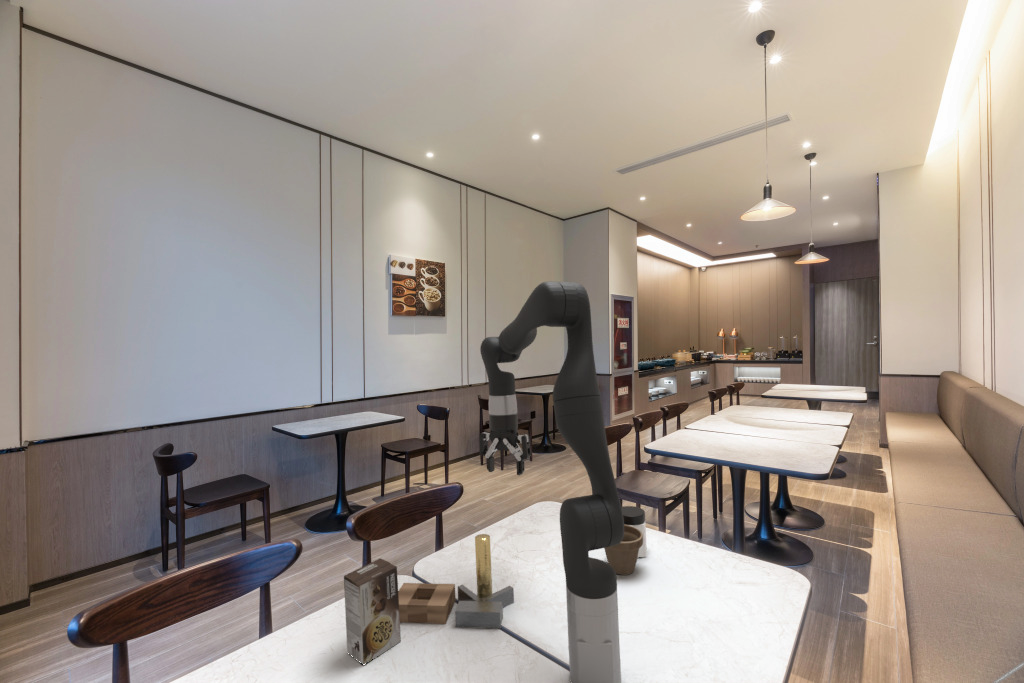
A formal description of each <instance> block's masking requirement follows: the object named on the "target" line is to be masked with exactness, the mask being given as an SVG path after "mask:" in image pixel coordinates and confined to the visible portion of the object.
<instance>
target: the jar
mask: <svg viewBox="0 0 1024 683" xmlns="http://www.w3.org/2000/svg"><path fill="white" fill-rule="evenodd" d="M621 508H622V513H623V519H624V525H629V526H632V527H635V528H637V529H639V530H640V531H641V532H642V533H643V544H642V546H641V547H640V548H639V552H638V557H637V559H640V558H639V557H643V558H646V557H647V549H648V548H647V529H646V528H647V527H646V526H647V525H646V512H645V510H644V509H643V508H641V507H638V506H633V505H632V506H631V505H624V506H621Z"/></svg>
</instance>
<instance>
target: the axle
mask: <svg viewBox="0 0 1024 683" xmlns="http://www.w3.org/2000/svg"><path fill="white" fill-rule="evenodd" d="M474 546H475V570H476V571H475V573H476V574H475V575H476V593H477V594H476V595H477V596H478V597H480V598H481V599H482V598H484V597H486V596H489V595H491V594H493V578H492V577H493V576H492V574H493V573H492V554H491V553H492V550H491V535H489V534H487V533H479V534H476V536H475V537H474Z"/></svg>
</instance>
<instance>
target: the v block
mask: <svg viewBox="0 0 1024 683" xmlns="http://www.w3.org/2000/svg"><path fill="white" fill-rule="evenodd" d="M514 592H515V591H514V587H513V586H511V585H508V586H506V587H504V588H502V589H499V590H497V591H495V592H492V594H491V595H489V596H486V597H484V598H482V599H481V598H480V597H478V596H477V594H476V593H475V592H473V591H472V590H470V589H469V588H468V587H466V586H465V585H464V584H460V585H458V586H457V601H458V603H457V605H456V607H455V610H454V618H455V620H454V621H455V623H454V624H455V628H469V629H470V628H471V629H472V628H473V629H474V628H475V629H497V630H498V629H501V628H502V623H503V619H504V611H503V609H504V608H506V607H508V606H510V605H512V604H514V603H515V597H514V596H515V595H514V594H515V593H514Z"/></svg>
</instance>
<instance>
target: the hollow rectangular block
mask: <svg viewBox="0 0 1024 683" xmlns="http://www.w3.org/2000/svg"><path fill="white" fill-rule="evenodd" d="M398 596H399V616H400V623H408V624H409V623H410V624H411V623H413V624H440V625H444V624H445V625H446V624H447V622H448V620H449V618H450V615H451V612H452V610H453V608H454V606H455V603H456V600H457V599H456V596H457V595H456V584H455V583H426V582H425V583H424V582H423V583H422V582H418V583H417V582H404V583H403V584H402V585H401V586H400V588H398Z"/></svg>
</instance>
